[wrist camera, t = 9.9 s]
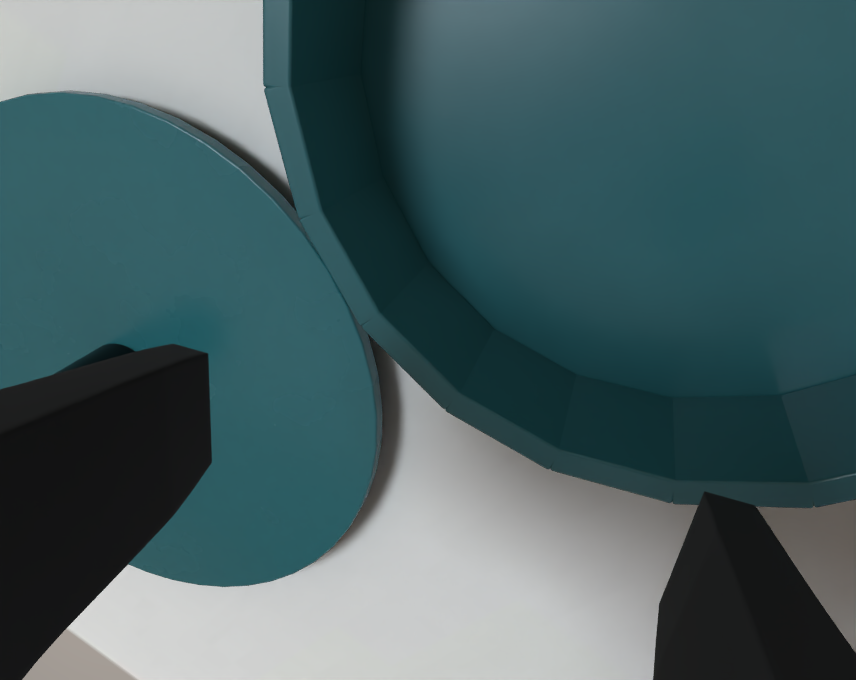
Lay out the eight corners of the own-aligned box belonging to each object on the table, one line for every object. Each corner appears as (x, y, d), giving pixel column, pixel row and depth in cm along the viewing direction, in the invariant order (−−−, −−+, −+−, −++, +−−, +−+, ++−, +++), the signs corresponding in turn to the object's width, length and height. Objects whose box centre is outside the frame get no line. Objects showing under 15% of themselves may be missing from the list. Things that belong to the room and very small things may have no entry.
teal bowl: (969, 484, 16) (1055, 610, 12) (332, 327, 19) (262, 392, 16) (1597, -550, 8) (2240, -941, 5) (372, -495, 12) (258, -700, 8)
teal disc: (370, 623, 24) (305, 758, 20) (-11, 491, 28) (-138, 580, 23) (418, 143, 16) (328, 188, 12) (-118, 49, 20) (-338, 57, 16)
